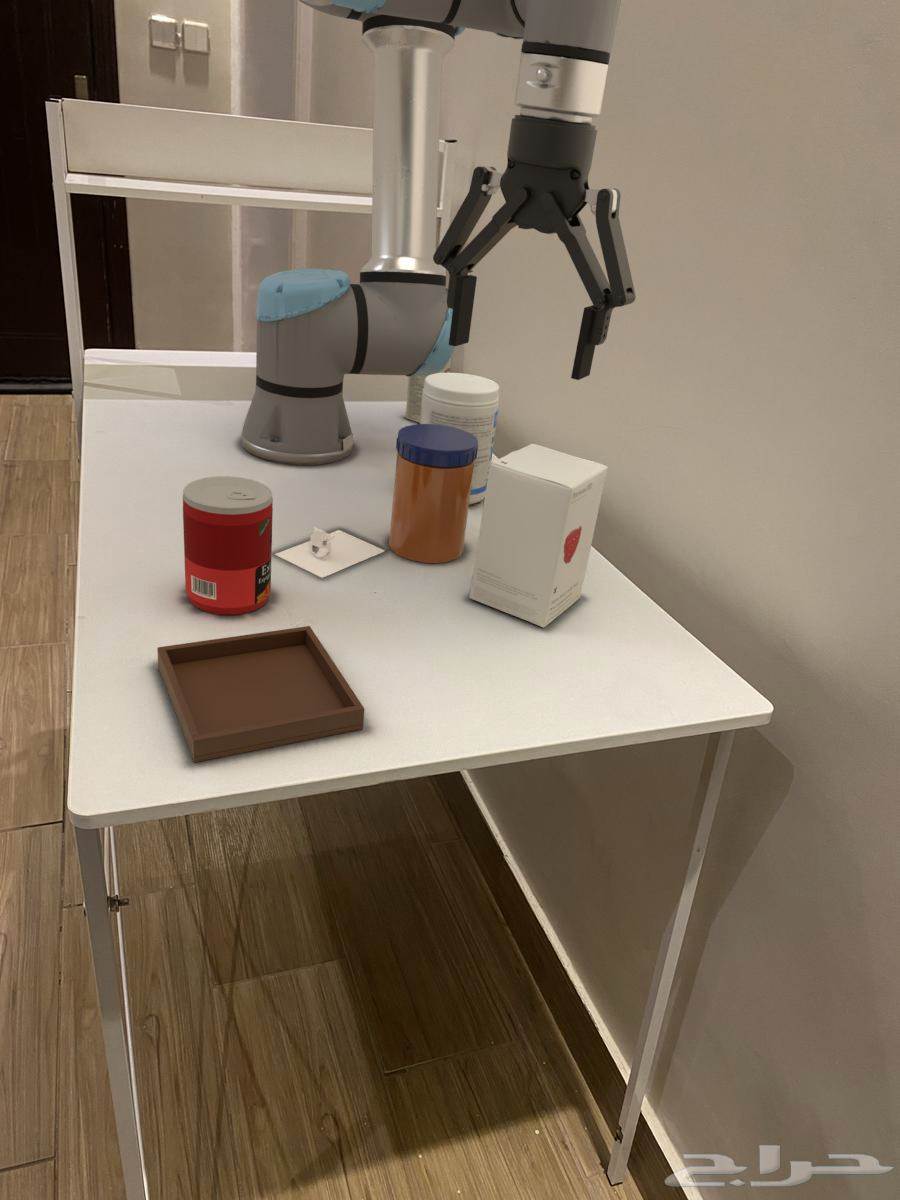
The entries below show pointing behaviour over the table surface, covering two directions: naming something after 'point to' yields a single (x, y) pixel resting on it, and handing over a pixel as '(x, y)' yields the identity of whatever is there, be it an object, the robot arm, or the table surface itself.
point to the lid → (437, 445)
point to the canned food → (227, 544)
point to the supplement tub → (465, 416)
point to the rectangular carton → (536, 532)
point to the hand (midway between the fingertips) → (517, 360)
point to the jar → (429, 511)
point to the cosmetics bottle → (418, 394)
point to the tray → (256, 692)
